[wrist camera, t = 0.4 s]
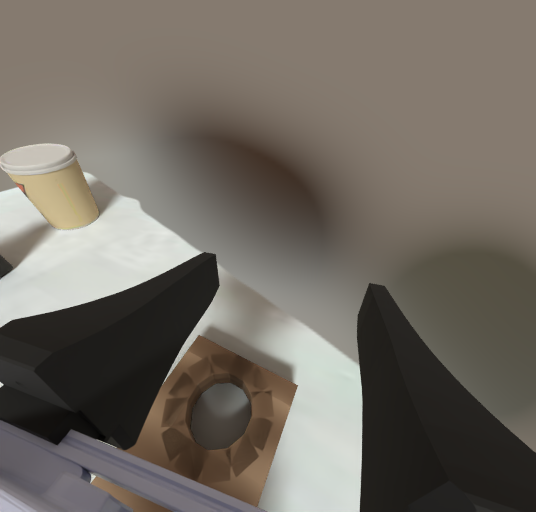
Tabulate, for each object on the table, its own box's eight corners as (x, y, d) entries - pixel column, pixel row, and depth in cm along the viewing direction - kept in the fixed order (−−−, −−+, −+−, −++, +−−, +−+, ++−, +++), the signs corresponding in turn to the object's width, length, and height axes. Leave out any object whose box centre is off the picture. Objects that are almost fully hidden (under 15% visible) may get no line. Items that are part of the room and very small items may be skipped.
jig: (224, 597, 16) (221, 613, 14) (100, 494, 19) (82, 495, 17) (293, 394, 26) (297, 385, 24) (202, 346, 29) (198, 335, 27)
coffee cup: (53, 207, 46) (10, 144, 38) (106, 201, 49) (78, 141, 40) (38, 237, 40) (-16, 169, 32) (101, 228, 43) (66, 164, 34)
